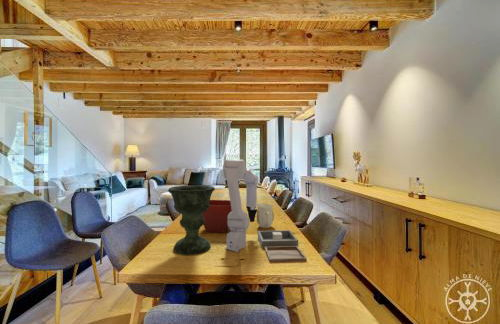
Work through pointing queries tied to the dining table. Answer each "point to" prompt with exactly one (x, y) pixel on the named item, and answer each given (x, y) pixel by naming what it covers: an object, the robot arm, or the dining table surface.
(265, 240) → the bin
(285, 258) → the tray
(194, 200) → the goblet
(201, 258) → the dining table surface
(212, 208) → the plant pot
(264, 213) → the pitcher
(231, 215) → the robot arm
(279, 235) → the block
